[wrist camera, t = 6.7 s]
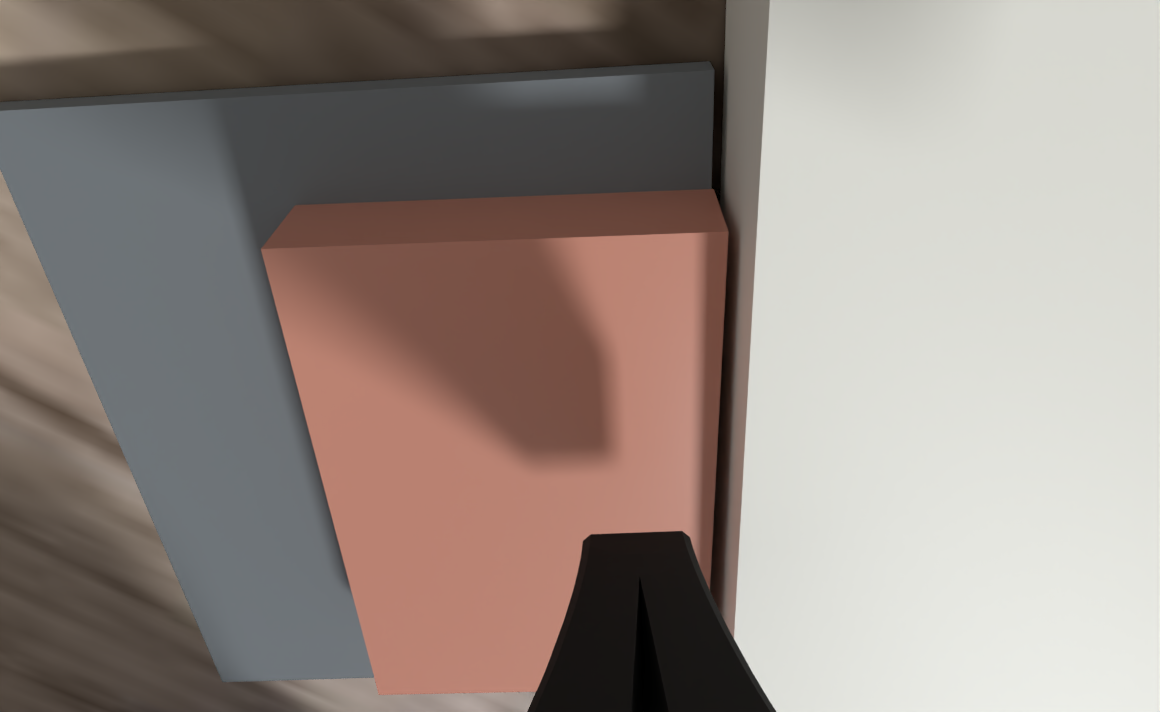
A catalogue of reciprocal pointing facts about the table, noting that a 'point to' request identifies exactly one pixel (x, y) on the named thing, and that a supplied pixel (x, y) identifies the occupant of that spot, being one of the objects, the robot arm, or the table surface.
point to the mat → (245, 300)
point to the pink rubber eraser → (501, 406)
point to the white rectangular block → (942, 354)
